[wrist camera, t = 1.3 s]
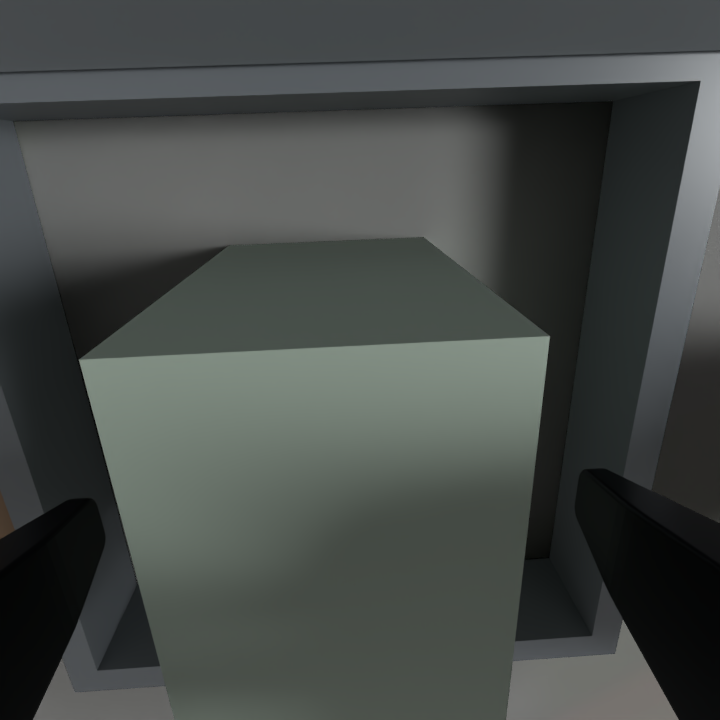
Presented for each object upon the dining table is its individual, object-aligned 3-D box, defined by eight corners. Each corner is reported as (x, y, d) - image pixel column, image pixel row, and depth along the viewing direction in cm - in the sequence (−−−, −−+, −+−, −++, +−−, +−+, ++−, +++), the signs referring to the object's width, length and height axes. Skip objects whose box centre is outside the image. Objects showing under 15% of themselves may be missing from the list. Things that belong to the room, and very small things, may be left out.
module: (423, 236, 13) (549, 335, 5) (419, 492, 16) (498, 785, 8) (229, 245, 13) (79, 359, 5) (263, 501, 16) (198, 810, 8)
